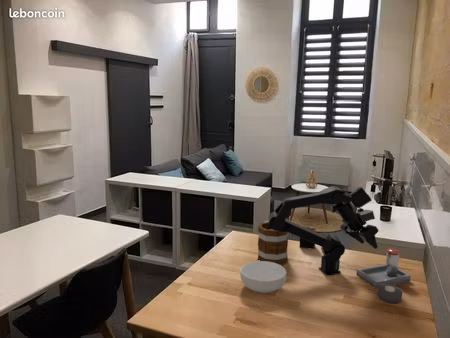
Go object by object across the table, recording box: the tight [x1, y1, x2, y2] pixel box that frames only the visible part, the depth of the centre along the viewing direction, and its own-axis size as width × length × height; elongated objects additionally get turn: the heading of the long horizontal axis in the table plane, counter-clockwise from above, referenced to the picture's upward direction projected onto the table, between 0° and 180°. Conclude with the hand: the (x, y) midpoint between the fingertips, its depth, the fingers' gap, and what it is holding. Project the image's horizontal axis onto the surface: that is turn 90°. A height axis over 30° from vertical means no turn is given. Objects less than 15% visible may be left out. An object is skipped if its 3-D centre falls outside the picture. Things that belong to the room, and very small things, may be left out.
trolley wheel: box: [376, 284, 403, 304], centre depth 130 cm, size 8×8×4 cm
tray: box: [356, 263, 412, 289], centre depth 144 cm, size 16×11×2 cm
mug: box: [257, 220, 289, 266], centre depth 163 cm, size 20×14×15 cm
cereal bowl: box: [239, 260, 288, 294], centre depth 136 cm, size 17×17×7 cm
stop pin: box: [385, 247, 400, 277], centre depth 144 cm, size 4×4×10 cm
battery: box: [299, 225, 317, 250], centre depth 174 cm, size 4×7×10 cm, turn 70°
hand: (369, 245), depth 147 cm, fingers open, 9 cm apart
